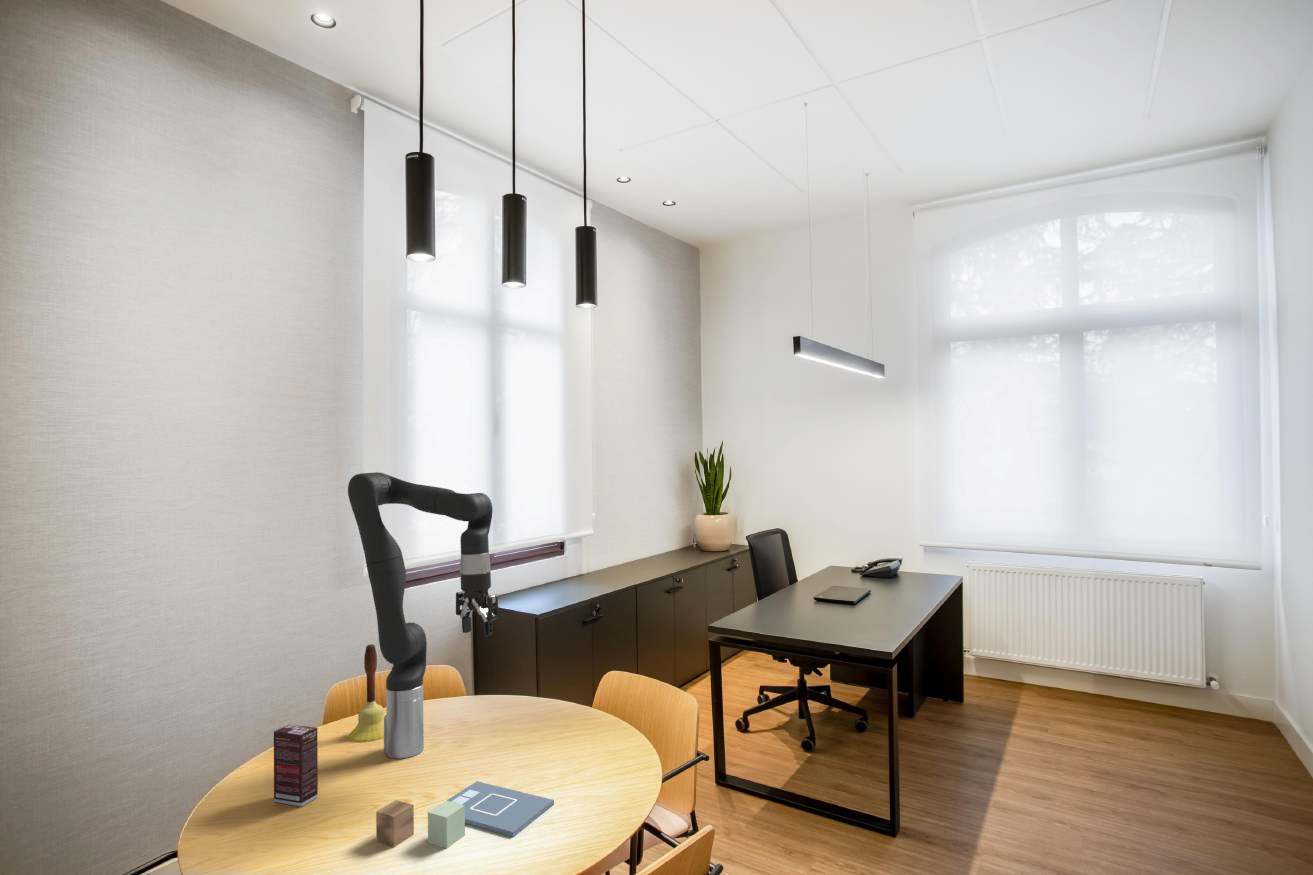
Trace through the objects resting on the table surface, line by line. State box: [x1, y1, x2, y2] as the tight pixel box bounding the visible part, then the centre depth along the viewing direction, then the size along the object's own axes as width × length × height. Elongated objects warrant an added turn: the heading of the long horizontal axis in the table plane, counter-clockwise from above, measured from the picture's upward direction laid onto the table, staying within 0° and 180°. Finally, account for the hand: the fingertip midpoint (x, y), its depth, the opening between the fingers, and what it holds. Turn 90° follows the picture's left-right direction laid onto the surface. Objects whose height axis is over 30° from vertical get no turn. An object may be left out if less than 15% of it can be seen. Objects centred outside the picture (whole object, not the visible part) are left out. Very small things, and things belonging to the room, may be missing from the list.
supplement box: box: [273, 724, 319, 808], centre depth 151 cm, size 9×5×16 cm, turn 71°
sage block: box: [427, 800, 466, 849], centre depth 133 cm, size 5×5×6 cm
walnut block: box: [375, 799, 415, 848], centre depth 134 cm, size 5×5×6 cm
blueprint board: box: [445, 780, 555, 838], centre depth 144 cm, size 22×14×1 cm, turn 63°
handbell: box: [347, 644, 385, 744], centre depth 189 cm, size 12×12×25 cm
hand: (477, 634), depth 169 cm, fingers open, 8 cm apart
